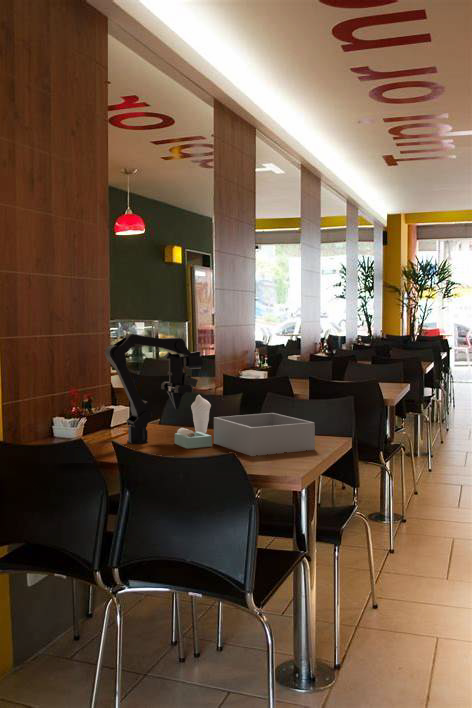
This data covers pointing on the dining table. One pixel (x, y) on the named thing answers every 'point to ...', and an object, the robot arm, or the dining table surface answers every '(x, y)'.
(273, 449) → the frame
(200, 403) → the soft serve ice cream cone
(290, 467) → the dining table surface
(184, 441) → the teal rectangular tray
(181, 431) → the bottle
